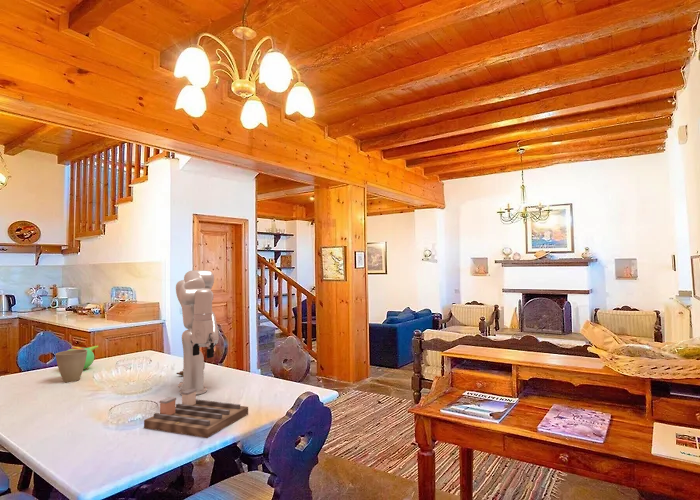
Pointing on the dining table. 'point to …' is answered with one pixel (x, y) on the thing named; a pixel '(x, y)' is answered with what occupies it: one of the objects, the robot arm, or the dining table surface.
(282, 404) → the dining table surface
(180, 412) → the board
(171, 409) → the block
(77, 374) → the plant pot
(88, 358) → the toy bird
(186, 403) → the fader cream
